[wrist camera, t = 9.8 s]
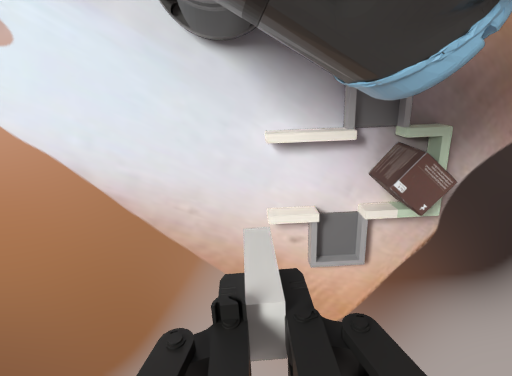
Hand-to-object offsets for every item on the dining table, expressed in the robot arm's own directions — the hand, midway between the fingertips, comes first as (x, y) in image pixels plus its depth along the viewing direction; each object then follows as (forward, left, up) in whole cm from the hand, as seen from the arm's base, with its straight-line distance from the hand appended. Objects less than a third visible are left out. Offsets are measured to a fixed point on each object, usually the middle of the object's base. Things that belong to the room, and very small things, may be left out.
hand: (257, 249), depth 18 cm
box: (+3, +21, -27) cm, 34 cm away
